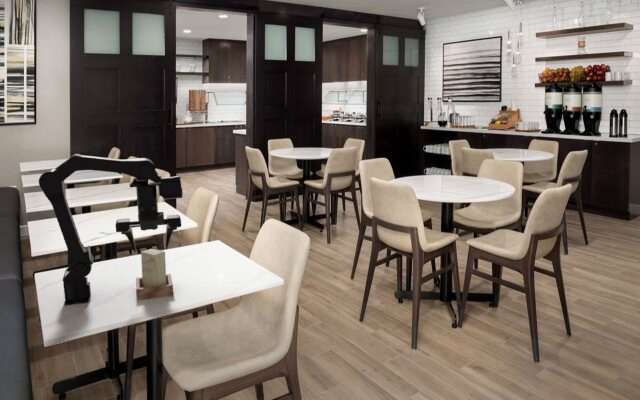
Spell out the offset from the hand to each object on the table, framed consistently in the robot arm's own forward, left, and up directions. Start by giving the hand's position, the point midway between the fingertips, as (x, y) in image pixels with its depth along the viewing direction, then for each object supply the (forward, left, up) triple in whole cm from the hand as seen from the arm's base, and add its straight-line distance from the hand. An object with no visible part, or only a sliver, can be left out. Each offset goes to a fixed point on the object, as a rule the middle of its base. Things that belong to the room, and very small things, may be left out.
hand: (150, 250), depth 162 cm
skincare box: (0, -1, -12) cm, 12 cm away
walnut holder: (0, -1, -13) cm, 13 cm away
